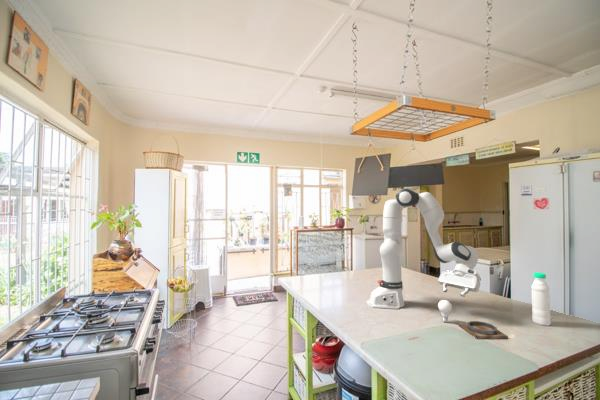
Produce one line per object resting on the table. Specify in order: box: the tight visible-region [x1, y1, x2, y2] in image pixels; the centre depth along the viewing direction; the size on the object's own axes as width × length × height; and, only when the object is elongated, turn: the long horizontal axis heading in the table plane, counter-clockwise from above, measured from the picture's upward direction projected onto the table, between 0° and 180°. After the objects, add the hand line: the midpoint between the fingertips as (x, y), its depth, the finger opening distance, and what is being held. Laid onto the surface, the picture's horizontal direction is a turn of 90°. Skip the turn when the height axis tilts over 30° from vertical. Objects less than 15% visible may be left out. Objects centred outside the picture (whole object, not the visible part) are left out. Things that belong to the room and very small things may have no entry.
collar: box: [467, 320, 498, 335], centre depth 131 cm, size 12×12×2 cm
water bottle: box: [530, 271, 552, 327], centre depth 141 cm, size 7×7×25 cm
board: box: [458, 322, 509, 340], centre depth 131 cm, size 14×14×1 cm
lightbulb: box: [437, 299, 453, 323], centre depth 143 cm, size 6×6×11 cm
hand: (453, 293), depth 147 cm, fingers open, 8 cm apart
